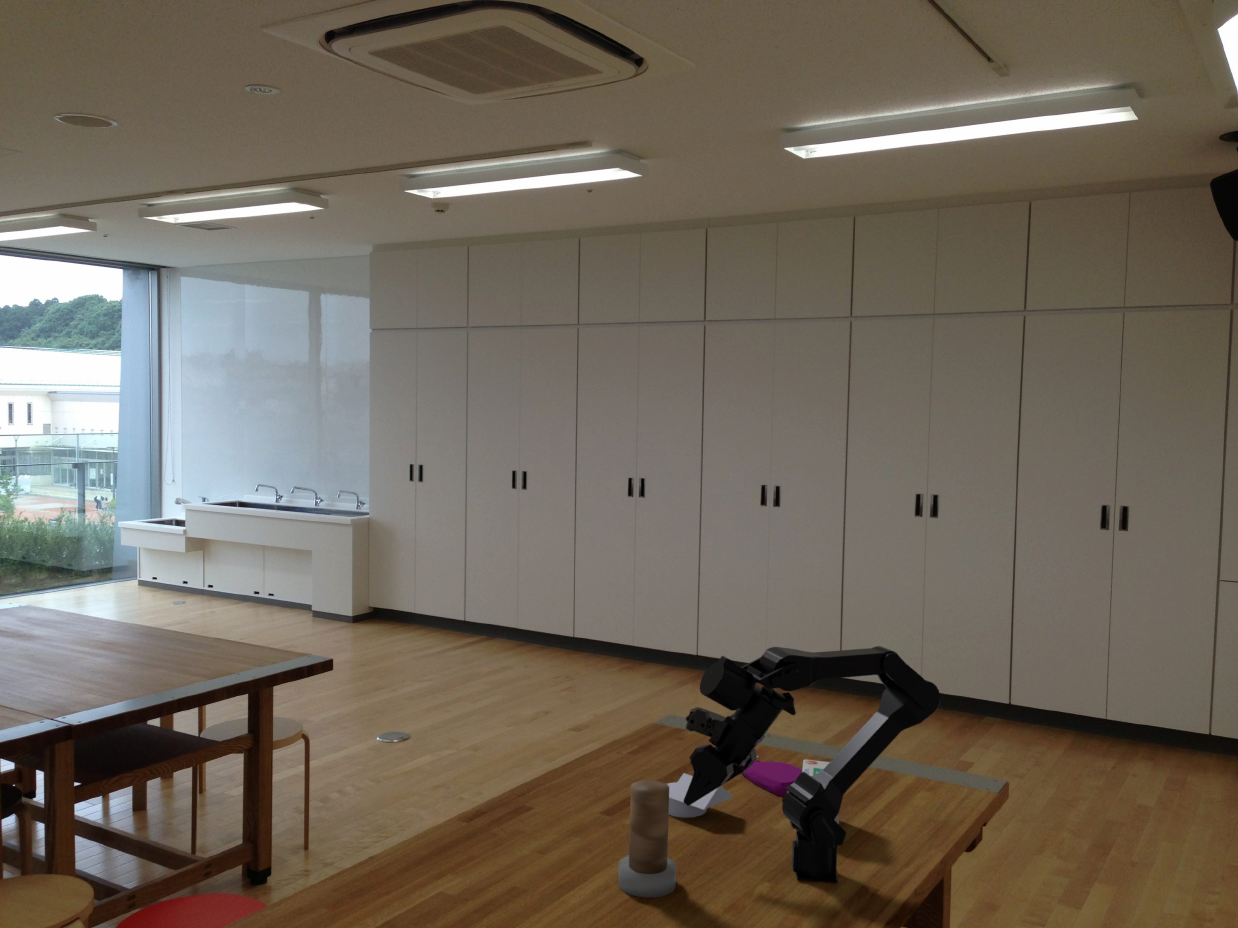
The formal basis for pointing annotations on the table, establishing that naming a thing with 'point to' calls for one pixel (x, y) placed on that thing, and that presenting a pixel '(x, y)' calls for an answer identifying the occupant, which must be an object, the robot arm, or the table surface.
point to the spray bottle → (772, 775)
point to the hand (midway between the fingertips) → (694, 797)
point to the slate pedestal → (646, 880)
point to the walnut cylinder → (649, 827)
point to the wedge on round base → (698, 807)
